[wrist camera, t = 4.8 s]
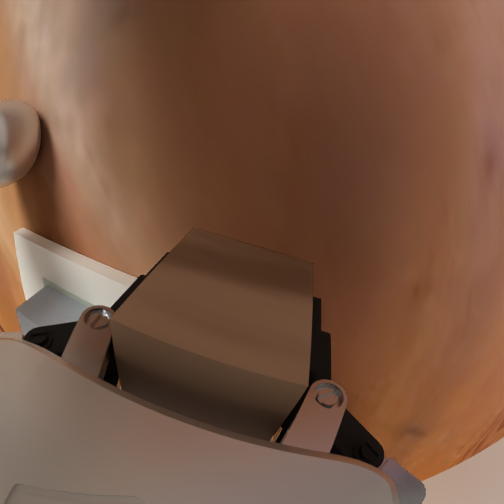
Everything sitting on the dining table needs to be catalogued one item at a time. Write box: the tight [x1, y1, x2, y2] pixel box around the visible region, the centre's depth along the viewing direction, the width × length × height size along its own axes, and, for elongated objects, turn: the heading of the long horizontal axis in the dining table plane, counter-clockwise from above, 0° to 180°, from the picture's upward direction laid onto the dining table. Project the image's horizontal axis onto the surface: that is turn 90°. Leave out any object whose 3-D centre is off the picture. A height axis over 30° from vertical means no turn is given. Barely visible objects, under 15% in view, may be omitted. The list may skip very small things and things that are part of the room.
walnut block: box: [110, 228, 314, 441], centre depth 10 cm, size 5×5×6 cm
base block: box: [15, 285, 88, 335], centre depth 19 cm, size 7×7×4 cm
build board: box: [14, 228, 137, 389], centre depth 21 cm, size 14×16×1 cm
